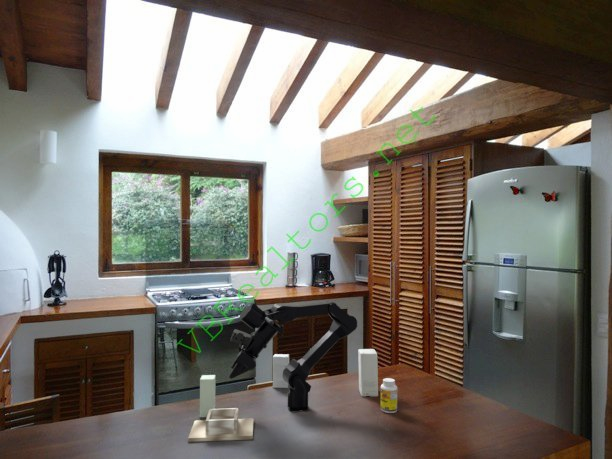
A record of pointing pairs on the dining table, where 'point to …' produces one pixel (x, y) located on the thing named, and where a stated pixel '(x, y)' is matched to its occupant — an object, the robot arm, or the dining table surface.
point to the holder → (221, 426)
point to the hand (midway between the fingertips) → (231, 373)
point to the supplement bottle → (389, 396)
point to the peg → (207, 394)
